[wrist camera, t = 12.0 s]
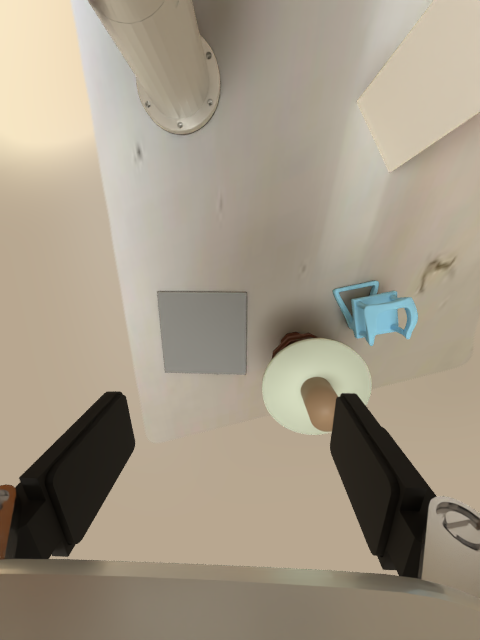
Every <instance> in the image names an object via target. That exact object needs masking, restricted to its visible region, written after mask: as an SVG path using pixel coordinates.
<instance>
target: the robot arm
mask: <svg viewBox="0 0 480 640" xmlns="http://www.w3.org/2000/svg"><path fill="white" fill-rule="evenodd" d="M88 1H89V3H90V5H91V6H92V8H93V10H94V11H95V13H96V14H97V16H98V17H99V19H100V21H101V22H102V24H103V25H104V27H105V28H106V30H107V32H108V33H109V35H110V36H111V38H112V39H113V41H114V43H115V44H116V46H117V47H118V49H119V50H120V52H121V53H122V55H123V57H124V58H125V60H126V61H127V63H128V64H129V66H130V68H131V69H132V71H133V72H134V74H135V75H136V84H137V90H138V94H139V97H140V100H141V103H142V105H143V107H144V109H145V110H146V112H147V113H148V115H149V116H150V117H151V119H152V120H153V121H154V122H155V123H156V124H157V125H158V126H160V127H161V128H162V129H164V130H166V131H168V132H171V133H175V134H188V133H192V132H194V131H196V130H198V129H200V128H201V127H202V126H204V125H205V124H206V123H207V122H208V121H209V119H210V118H211V116H212V115H213V113H214V112H215V109H216V107H217V104H218V100H219V96H220V85H221V83H220V73H219V68H218V63H217V61H216V58H215V55H214V53H213V51H212V49H211V47H210V45H209V44H208V43H207V42H206V40H205V39H204V38H203V37H202V36H201V35H200V33H199V29H198V24H197V20H196V16H195V11H194V7H193V3H192V0H88ZM210 105H211V106H210ZM149 107H150V108H149ZM181 127H182V128H181ZM180 128H181V129H180ZM134 447H135V439H134V434H133V429H132V424H131V419H130V414H129V409H128V405H127V400H126V396H124V395H123V394H122V393H121V392H106V393H104V395H102V396H101V397H100V398H99V399H98V400H97V401H96V402H95V403H94V404H93V405H92V406H91V407H90V408H89V409H88V410H87V411H86V412H85V413H84V414H83V415H82V416H81V417H80V418H79V419H78V420H77V421H76V422H75V423H74V424H73V425H72V426H71V427H70V428H69V429H68V430H67V431H66V432H65V433H64V434H63V435H62V436H61V437H60V438H59V439H58V440H57V441H56V442H55V443H54V444H53V445H52V446H51V447H50V448H49V449H48V450H47V451H46V452H45V453H44V454H43V455H42V456H41V457H40V458H39V459H38V460H37V461H36V462H35V463H34V464H33V465H32V466H31V467H30V468H29V469H28V470H27V471H26V472H25V473H24V474H23V475H22V476H20V478H19V479H20V481H21V482H20V483H19V484H18V485H17V486H16V487H13V486H12V485H1V486H0V640H480V513H478V512H477V511H476V510H475V509H473V508H471V507H470V506H468V505H466V504H465V503H463V502H460V501H458V500H456V499H453V498H449V497H445V496H440V497H437V496H436V495H435V494H434V492H433V491H432V490H431V488H430V487H429V486H428V484H427V483H426V482H425V481H424V479H423V478H422V477H421V475H420V474H419V473H418V471H417V470H416V469H415V467H414V466H413V465H412V463H411V462H410V461H409V459H408V458H407V457H406V455H405V454H404V453H403V452H402V450H401V449H400V448H399V446H398V445H397V444H396V442H395V441H394V440H393V438H392V437H391V436H390V434H389V433H388V432H387V431H386V430H385V429H384V428H383V427H381V426H380V424H379V423H378V422H377V421H376V419H375V418H374V416H373V415H372V414H371V412H370V411H369V410H368V409H367V407H366V406H365V404H364V403H363V402H362V400H361V399H360V398H359V396H358V395H357V394H355V393H342V394H341V395H340V397H337V398H336V403H335V411H334V419H333V427H332V435H331V443H330V450H331V454H332V457H333V460H334V462H335V465H336V467H337V470H338V472H339V474H340V477H341V480H342V482H343V484H344V487H345V489H346V492H347V494H348V497H349V499H350V502H351V504H352V507H353V509H354V512H355V514H356V517H357V519H358V522H359V524H360V527H361V529H362V532H363V534H364V537H365V539H366V542H367V544H368V547H369V549H370V551H371V553H372V554H373V555H376V556H378V559H379V561H380V564H381V566H382V568H383V569H384V570H397V572H398V574H399V576H395V575H386V574H374V573H359V572H346V571H332V570H312V569H291V568H271V567H250V566H227V565H226V566H225V565H203V564H179V563H155V562H127V561H125V562H124V561H99V560H70V559H49V557H50V556H51V554H52V556H65V557H68V556H69V554H70V553H71V551H72V549H73V548H74V546H75V544H78V543H79V542H80V541H81V540H82V539H83V537H84V535H85V534H86V532H87V530H88V528H89V527H90V525H91V523H92V521H93V520H94V518H95V516H96V515H97V513H98V511H99V509H100V508H101V506H102V504H103V502H104V501H105V499H106V497H107V495H108V494H109V492H110V490H111V489H112V487H113V485H114V483H115V482H116V480H117V478H118V476H119V475H120V473H121V471H122V469H123V468H124V466H125V464H126V463H127V461H128V459H129V457H130V456H131V454H132V452H133V450H134Z"/></svg>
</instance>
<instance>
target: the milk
mask: <svg viewBox="0 0 480 640" xmlns="http://www.w3.org/2000/svg"><path fill="white" fill-rule="evenodd" d="M357 104H358V106H359V109H360V111H361V113H362V115H363V117H364V119H365V121H366V124H367V126H368V128H369V130H370V132H371V134H372V137H373V139H374V141H375V143H376V145H377V147H378V149H379V152H380V154H381V156H382V158H383V160H384V162H385V165H386V167H387V169H388V171H389V173H390V172H392V171H393V170H395V169H396V168H398V167H399V166H401V165H402V164H404V163H405V162H407V161H408V160H410V159H411V158H413V157H414V156H416V155H417V154H418V153H420V152H421V151H423V150H424V149H426V148H427V147H429V146H430V145H432V144H433V143H435V142H436V141H438V140H439V139H441V138H442V137H443V136H445V135H446V134H448V133H449V132H451V131H452V130H454V129H455V128H457V127H458V126H460V125H461V124H463V123H464V122H466V121H467V120H468V119H470V118H471V117H473V116H474V115H476V114H477V113H479V112H480V0H434V1H433V2H432V3H431V5H430V6H429V7H428V9H427V10H426V11H425V13H424V14H423V15H422V17H421V18H420V19H419V20H418V22H417V23H416V24H415V26H414V27H413V28H412V30H411V31H410V32H409V34H408V35H407V36H406V38H405V39H404V40H403V42H402V43H401V44H400V45H399V47H398V48H397V49H396V51H395V52H394V53H393V55H392V56H391V57H390V59H389V60H388V61H387V63H386V64H385V65H384V66H383V68H382V69H381V70H380V72H379V73H378V74H377V76H376V77H375V78H374V80H373V81H372V82H371V84H370V85H369V86H368V88H367V89H366V90H365V91H364V93H363V94H362V95H361V97H360V98H359V99H358V101H357Z"/></svg>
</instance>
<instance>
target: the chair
mask: <svg viewBox="0 0 480 640" xmlns="http://www.w3.org/2000/svg"><path fill="white" fill-rule="evenodd" d="M367 286H372V289H371V292H370V295H369V296H366V297H361V298H355V299H351V303H352V312H353V318H352V316H351V314H350V313H349V311H348V309H347V307H346V305H345V304H344V302H343V300H342V298H341V297H340V295H339V292H342V291H347V290H352V289H357V288H362V287H367ZM378 286H379V282H378V281H370V282H365V283H361V284H356V285H351V286H346V287H342V288H337V289H334V290H333V294H334V297H335V299H336V301H337V303H338V305H339V307H340V309H341V311H342V313H343V315H344V317H345V319H346V321H347V323H348V326H349V328H350V329H352V330H353V331H354V335H355V337H356V338H363V337H365V338H366V341H367V342H368V343H369V345H370V346H373V344H374V338H375V335H378V334H383V333H390V332H395V331H396V332H398V333H400V334H402V335H404V336H405V337H406V339H410V337H411V333H412V331H413V329H414V327H415V325H416V323H417V320H418V313H417V309H416V306H415V304H414V301H413V299H412V298H411V297H404V298H397V291H390V292H385V293H381V294H377V291H378ZM399 308H405V310H406V314H407V324H406V327H405V329H404V330H403V329H401V328H400V327H398V313H397V309H399Z"/></svg>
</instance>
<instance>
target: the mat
mask: <svg viewBox="0 0 480 640" xmlns="http://www.w3.org/2000/svg"><path fill="white" fill-rule="evenodd" d="M157 297H158V307H159V318H160V328H161V338H162V348H163V358H164V368H165V373H200V374H237V375H246V304H247V292H169V291H158V292H157Z"/></svg>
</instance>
